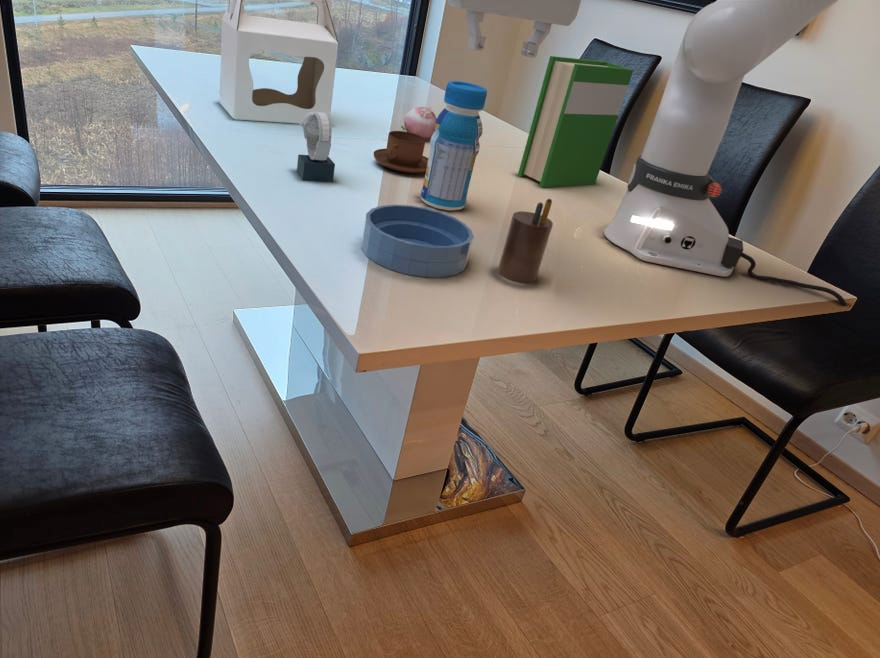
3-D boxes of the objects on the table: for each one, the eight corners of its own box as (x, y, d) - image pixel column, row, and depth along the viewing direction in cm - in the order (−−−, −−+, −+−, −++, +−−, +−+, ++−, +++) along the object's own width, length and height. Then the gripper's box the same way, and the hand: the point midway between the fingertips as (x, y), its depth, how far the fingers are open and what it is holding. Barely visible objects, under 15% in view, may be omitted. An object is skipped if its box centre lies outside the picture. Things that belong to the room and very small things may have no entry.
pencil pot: (536, 276, 98) (561, 195, 92) (532, 290, 93) (558, 206, 87) (499, 265, 99) (522, 185, 92) (493, 279, 94) (516, 195, 88)
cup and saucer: (426, 182, 128) (433, 150, 125) (366, 168, 128) (371, 136, 125) (434, 166, 138) (440, 136, 135) (378, 154, 139) (383, 123, 135)
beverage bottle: (436, 213, 114) (462, 90, 103) (410, 195, 119) (432, 77, 109) (474, 211, 118) (503, 93, 108) (447, 193, 124) (472, 80, 113)
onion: (409, 141, 152) (414, 109, 148) (395, 131, 158) (400, 100, 154) (439, 143, 155) (446, 111, 152) (425, 133, 161) (431, 102, 157)
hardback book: (542, 187, 139) (578, 64, 126) (517, 175, 144) (550, 56, 131) (595, 183, 149) (633, 70, 136) (570, 172, 154) (605, 61, 141)
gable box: (311, 110, 161) (324, -22, 146) (330, 126, 151) (346, -13, 137) (218, 103, 151) (222, -39, 136) (232, 119, 141) (238, -31, 127)
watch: (323, 169, 123) (330, 108, 117) (335, 185, 117) (343, 121, 111) (293, 168, 121) (299, 105, 115) (304, 183, 115) (311, 118, 109)
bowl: (473, 253, 101) (481, 222, 99) (452, 292, 88) (461, 257, 86) (379, 227, 103) (384, 196, 101) (345, 261, 91) (350, 227, 88)
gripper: (477, -77, 78) (452, 50, 86) (602, -47, 88) (570, 64, 96) (449, -81, 83) (427, 40, 90) (571, -52, 93) (542, 55, 100)
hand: (502, 53), depth 93 cm, fingers open, 8 cm apart
